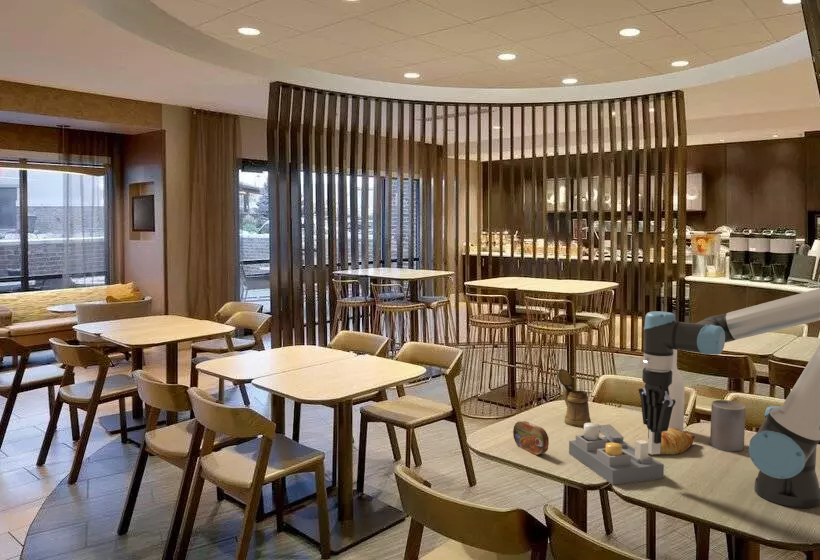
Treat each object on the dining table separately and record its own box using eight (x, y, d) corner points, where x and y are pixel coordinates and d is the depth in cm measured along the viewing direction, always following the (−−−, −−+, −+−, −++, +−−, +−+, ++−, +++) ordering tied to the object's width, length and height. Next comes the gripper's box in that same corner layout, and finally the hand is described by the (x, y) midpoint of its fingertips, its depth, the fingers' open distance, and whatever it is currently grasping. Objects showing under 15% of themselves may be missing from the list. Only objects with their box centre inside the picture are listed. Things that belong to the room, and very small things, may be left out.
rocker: (622, 442, 190) (623, 437, 190) (612, 443, 190) (613, 438, 189) (609, 429, 198) (610, 424, 197) (599, 430, 197) (599, 425, 196)
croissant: (652, 469, 191) (662, 450, 187) (629, 445, 198) (639, 426, 194) (699, 455, 201) (710, 437, 197) (676, 432, 208) (686, 415, 204)
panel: (663, 478, 176) (664, 455, 175) (612, 484, 172) (613, 461, 171) (614, 448, 199) (615, 428, 198) (568, 453, 195) (569, 432, 194)
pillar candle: (712, 438, 207) (714, 394, 205) (746, 444, 201) (747, 398, 200) (707, 448, 199) (708, 402, 197) (742, 454, 193) (744, 406, 192)
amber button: (624, 460, 176) (625, 447, 176) (610, 462, 175) (611, 448, 175) (615, 455, 181) (616, 441, 180) (602, 456, 180) (602, 443, 179)
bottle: (679, 428, 218) (682, 342, 215) (686, 435, 210) (689, 347, 207) (655, 427, 219) (657, 341, 216) (660, 434, 211) (663, 346, 208)
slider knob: (648, 460, 178) (648, 443, 177) (640, 461, 177) (640, 443, 177) (642, 456, 180) (643, 439, 180) (634, 457, 180) (635, 440, 179)
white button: (601, 439, 188) (601, 426, 187) (588, 441, 187) (588, 428, 186) (593, 434, 192) (594, 422, 192) (580, 436, 191) (581, 423, 191)
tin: (512, 443, 204) (512, 418, 203) (520, 442, 206) (520, 416, 205) (542, 459, 191) (542, 432, 190) (550, 457, 192) (550, 430, 191)
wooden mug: (568, 414, 234) (569, 366, 232) (596, 424, 222) (597, 374, 221) (550, 418, 230) (551, 369, 228) (578, 428, 218) (578, 377, 216)
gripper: (631, 364, 176) (628, 446, 178) (660, 375, 163) (657, 463, 165) (654, 362, 177) (651, 443, 180) (685, 373, 165) (681, 460, 167)
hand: (654, 453), depth 173 cm, fingers closed
